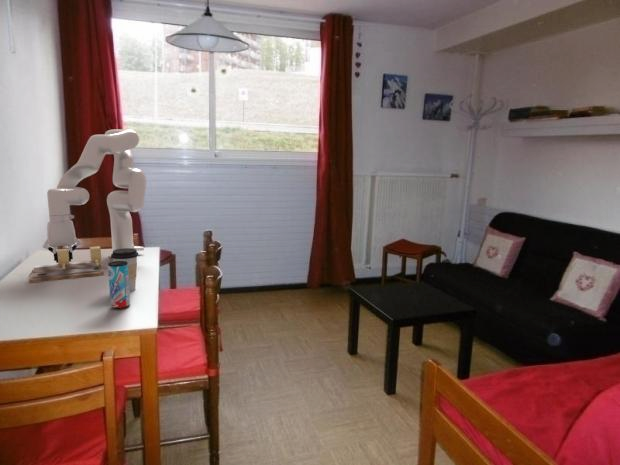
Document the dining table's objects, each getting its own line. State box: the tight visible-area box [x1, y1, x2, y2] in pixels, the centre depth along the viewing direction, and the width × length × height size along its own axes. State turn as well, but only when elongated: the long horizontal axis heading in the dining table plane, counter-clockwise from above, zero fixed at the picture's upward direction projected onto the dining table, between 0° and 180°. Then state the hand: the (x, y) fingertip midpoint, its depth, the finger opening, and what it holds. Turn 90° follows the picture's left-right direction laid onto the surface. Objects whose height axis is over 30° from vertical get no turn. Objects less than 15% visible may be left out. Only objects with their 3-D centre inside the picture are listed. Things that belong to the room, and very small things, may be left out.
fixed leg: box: [89, 245, 102, 268], centre depth 187 cm, size 4×10×7 cm, turn 29°
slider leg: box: [56, 248, 70, 271], centre depth 181 cm, size 4×10×7 cm, turn 29°
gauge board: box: [29, 260, 105, 284], centre depth 182 cm, size 26×16×3 cm, turn 119°
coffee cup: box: [110, 248, 139, 293], centre depth 161 cm, size 9×9×15 cm
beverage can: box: [107, 261, 131, 310], centre depth 144 cm, size 6×6×15 cm
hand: (63, 261), depth 184 cm, fingers closed on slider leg, 4 cm apart
